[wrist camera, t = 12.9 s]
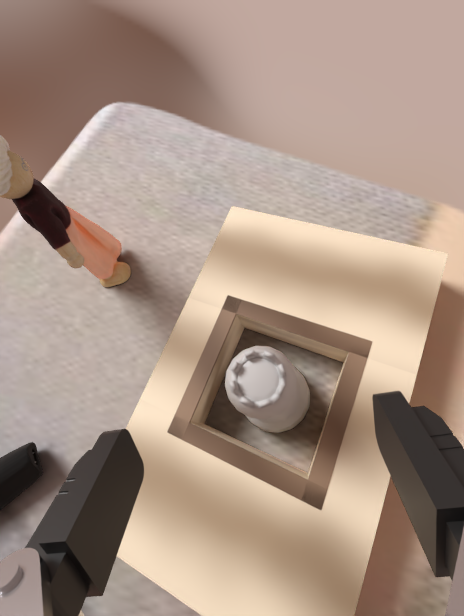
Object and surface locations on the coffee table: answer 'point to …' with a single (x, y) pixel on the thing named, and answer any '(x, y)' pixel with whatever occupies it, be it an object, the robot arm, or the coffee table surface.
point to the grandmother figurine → (60, 222)
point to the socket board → (255, 463)
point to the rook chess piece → (267, 389)
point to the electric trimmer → (18, 472)
